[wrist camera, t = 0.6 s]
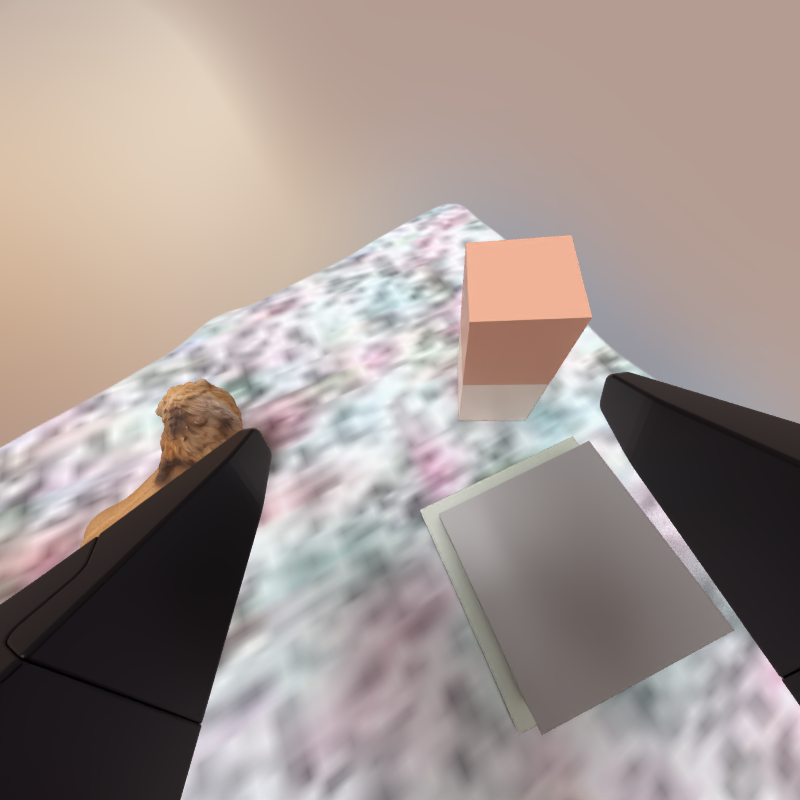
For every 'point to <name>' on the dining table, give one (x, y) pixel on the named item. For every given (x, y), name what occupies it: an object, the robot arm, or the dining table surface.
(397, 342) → the dining table surface
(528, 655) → the base brick
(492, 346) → the brick column
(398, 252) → the dining table surface
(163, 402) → the lion figurine
